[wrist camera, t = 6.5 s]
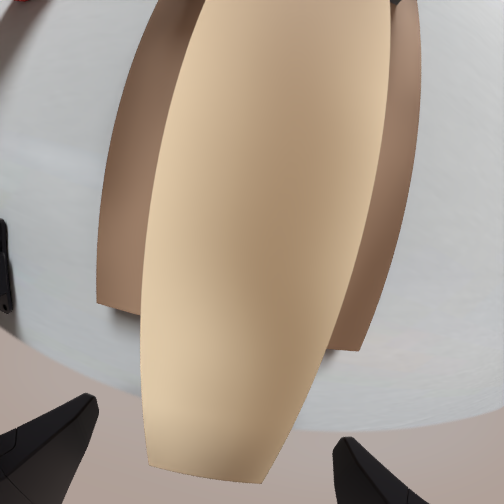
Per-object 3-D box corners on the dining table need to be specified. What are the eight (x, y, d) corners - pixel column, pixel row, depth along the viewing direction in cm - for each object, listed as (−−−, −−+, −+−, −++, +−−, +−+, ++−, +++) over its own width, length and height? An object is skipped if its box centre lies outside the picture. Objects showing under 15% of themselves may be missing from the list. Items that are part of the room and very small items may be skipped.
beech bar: (175, 383, 12) (149, 465, 7) (254, -20, 7) (257, -95, 2) (257, 398, 12) (261, 483, 7) (343, 0, 7) (382, -65, 3)
